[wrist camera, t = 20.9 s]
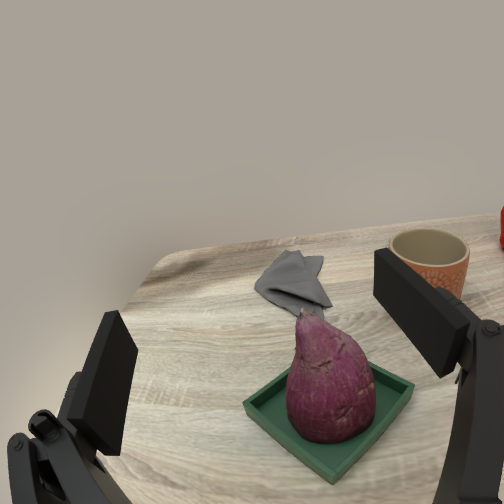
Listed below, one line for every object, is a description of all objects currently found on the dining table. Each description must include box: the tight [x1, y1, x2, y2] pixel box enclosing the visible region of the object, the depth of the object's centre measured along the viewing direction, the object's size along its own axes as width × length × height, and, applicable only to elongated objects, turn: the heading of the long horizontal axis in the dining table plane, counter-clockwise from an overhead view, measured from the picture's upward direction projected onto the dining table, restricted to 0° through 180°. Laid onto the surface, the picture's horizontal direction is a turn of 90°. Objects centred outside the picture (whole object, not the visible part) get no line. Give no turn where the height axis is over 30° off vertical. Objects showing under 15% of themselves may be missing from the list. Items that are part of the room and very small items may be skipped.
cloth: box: [254, 250, 332, 320], centre depth 55 cm, size 26×14×2 cm, turn 172°
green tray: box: [242, 361, 415, 485], centre depth 29 cm, size 14×14×3 cm
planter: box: [388, 227, 470, 299], centre depth 39 cm, size 12×12×11 cm
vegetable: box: [286, 308, 376, 444], centre depth 28 cm, size 10×10×15 cm
